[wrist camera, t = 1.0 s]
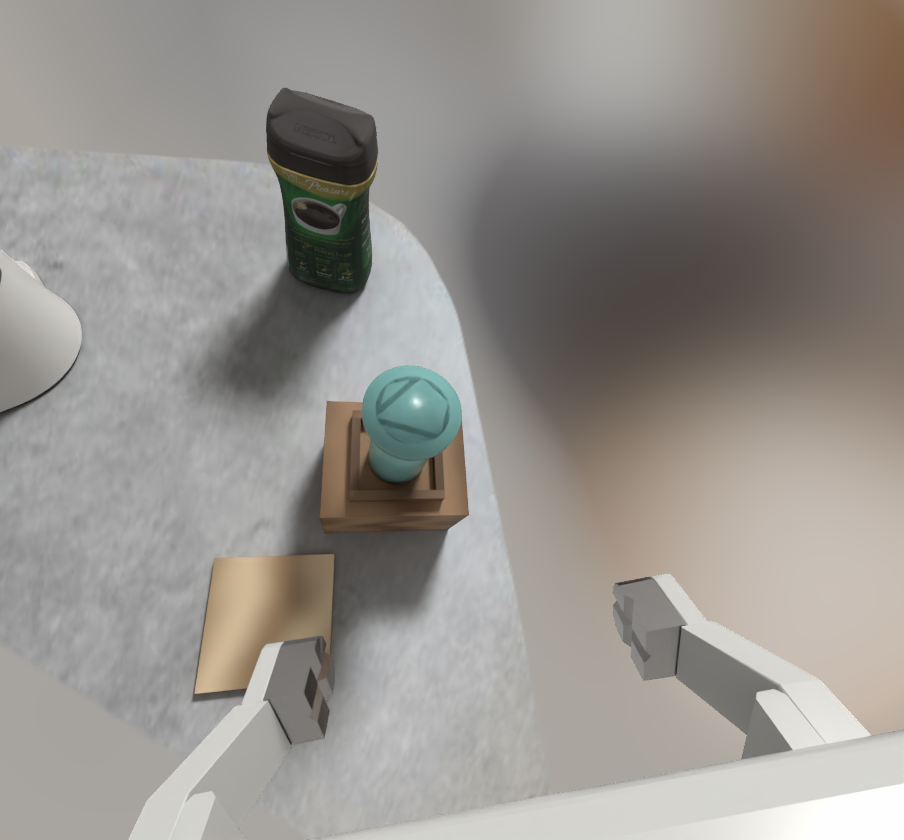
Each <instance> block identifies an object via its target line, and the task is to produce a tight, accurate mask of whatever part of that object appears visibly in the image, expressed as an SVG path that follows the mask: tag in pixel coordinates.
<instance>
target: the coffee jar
mask: <svg viewBox="0 0 904 840" xmlns="http://www.w3.org/2000/svg"><path fill="white" fill-rule="evenodd" d="M266 123H267V124H266V132H267V154H268V158H269V161H270V163H271V165H272V167H273V169H274V171H275V173H276V175H277V177H278V180H279V183H280V188H281V193H282V198H283V206H284V216H285V232H286V251H287V261H288V266H289V270H290V272H291V273H292V274H293V275H294V276H295V277H296V278H297V279H299V280H301V281H303V282H305V283H308V284H311V285H314V286H317V287H320V288H325V289H329V290H333V291H339V292H354V291H357V290H359V289H360V288H362V287H363V286H364V285H365V283H366V282H367V280H368V277H369V274H370V271H371V266H372V244H371V233H370V220H369V187H370V185H371V184H372V182H373V180H374V177H375V174H376V170H377V164H378V147H377V138H376V136H377V135H376V126H375V121H374V119H373V117H372V116H371V115H369V114H367V113H365V112H363V111H361V110H359V109H356V108H353V107H350V106H347V105H344V104H341V103H338V102H334V101H331V100H328V99H325V98H321V97H318V96H315V95H312V94H308V93H303V92H299V91H292V90H289V89H288V88H283V89H282V90H281V91H280V92H279V93H278V94H277V96H276V97H275V99H274V100H273V102H272V104H271V105H270V108H269V110H268V114H267V122H266Z"/></svg>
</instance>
